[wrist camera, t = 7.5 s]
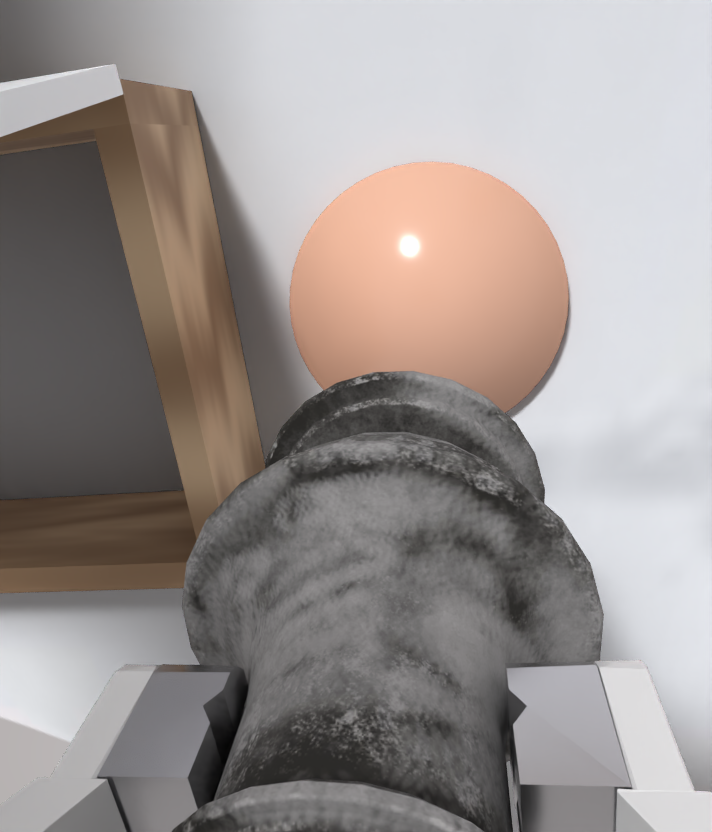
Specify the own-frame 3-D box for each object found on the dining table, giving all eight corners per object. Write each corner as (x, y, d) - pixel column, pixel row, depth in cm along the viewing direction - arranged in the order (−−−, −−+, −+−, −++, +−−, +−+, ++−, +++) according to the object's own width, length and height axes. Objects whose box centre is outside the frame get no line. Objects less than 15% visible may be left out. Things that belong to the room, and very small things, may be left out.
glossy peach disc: (271, 181, 26) (268, 182, 25) (565, 143, 24) (567, 143, 23) (313, 437, 30) (311, 443, 29) (566, 421, 28) (569, 427, 28)
